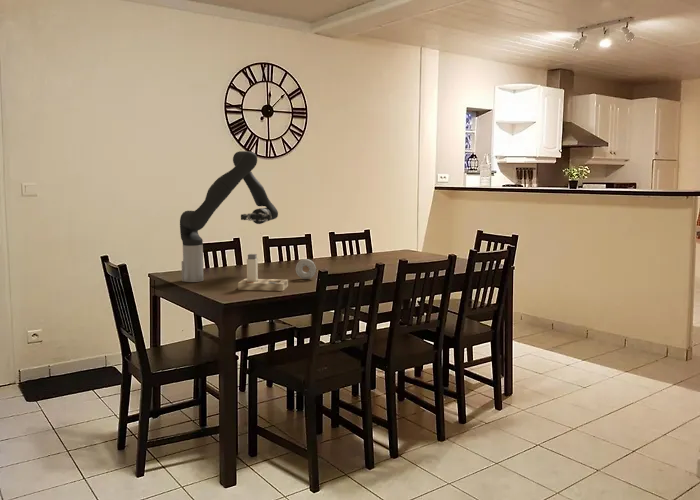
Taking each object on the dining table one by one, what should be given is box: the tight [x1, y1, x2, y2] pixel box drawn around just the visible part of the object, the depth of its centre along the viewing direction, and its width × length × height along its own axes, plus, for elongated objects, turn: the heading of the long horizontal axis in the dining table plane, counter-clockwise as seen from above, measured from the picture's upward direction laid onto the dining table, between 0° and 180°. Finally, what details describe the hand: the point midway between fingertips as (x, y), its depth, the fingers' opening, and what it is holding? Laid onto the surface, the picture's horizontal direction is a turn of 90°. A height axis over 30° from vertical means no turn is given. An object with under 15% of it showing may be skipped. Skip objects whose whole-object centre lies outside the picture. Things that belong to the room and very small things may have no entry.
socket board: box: [237, 278, 289, 292], centre depth 281 cm, size 20×12×3 cm, turn 85°
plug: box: [246, 253, 259, 282], centre depth 281 cm, size 4×4×15 cm
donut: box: [295, 258, 317, 280], centre depth 306 cm, size 10×4×10 cm, turn 86°
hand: (252, 218), depth 297 cm, fingers open, 8 cm apart
